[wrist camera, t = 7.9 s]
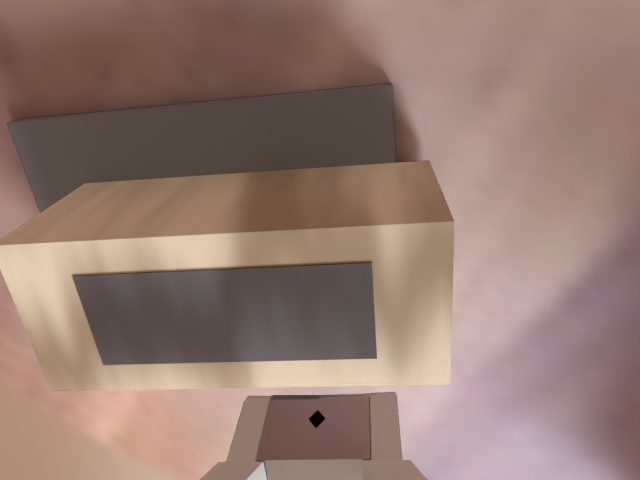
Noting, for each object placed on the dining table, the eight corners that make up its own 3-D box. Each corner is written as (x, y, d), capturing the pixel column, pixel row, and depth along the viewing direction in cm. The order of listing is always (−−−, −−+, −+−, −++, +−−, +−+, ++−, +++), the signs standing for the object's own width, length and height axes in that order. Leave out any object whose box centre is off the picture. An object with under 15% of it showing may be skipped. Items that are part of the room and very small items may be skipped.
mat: (15, 119, 17) (6, 123, 17) (391, 83, 16) (392, 86, 15) (99, 350, 22) (94, 358, 21) (402, 338, 20) (403, 346, 20)
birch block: (429, 160, 16) (85, 183, 18) (454, 222, 12) (-11, 246, 13) (428, 290, 18) (122, 302, 20) (450, 385, 14) (50, 392, 15)
